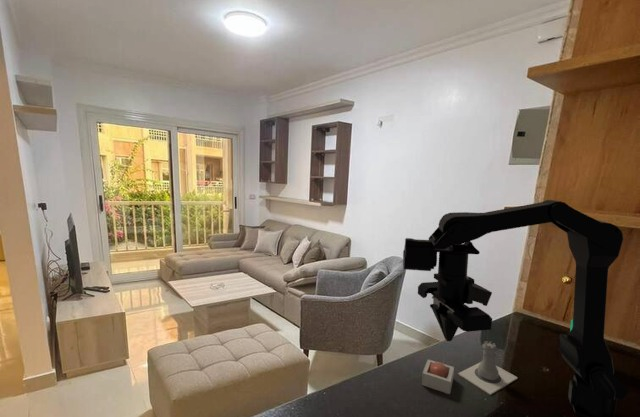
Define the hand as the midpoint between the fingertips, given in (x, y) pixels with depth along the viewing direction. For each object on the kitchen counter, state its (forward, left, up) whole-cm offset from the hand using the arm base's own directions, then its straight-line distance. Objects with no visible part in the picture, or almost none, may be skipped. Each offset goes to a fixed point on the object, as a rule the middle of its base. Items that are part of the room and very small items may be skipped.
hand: (448, 340), depth 68 cm
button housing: (+2, -2, -12) cm, 12 cm away
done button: (+2, -2, -11) cm, 11 cm away
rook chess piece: (-8, -10, -12) cm, 17 cm away
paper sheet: (-8, -10, -12) cm, 18 cm away
